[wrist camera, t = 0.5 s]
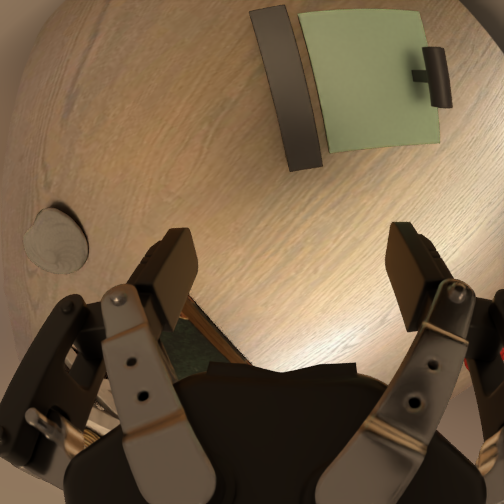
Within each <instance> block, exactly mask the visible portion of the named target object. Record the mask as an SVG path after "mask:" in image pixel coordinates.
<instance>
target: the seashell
mask: <svg viewBox="0 0 504 504" xmlns="http://www.w3.org/2000/svg"><path fill="white" fill-rule="evenodd" d="M23 245H24V250H25V252H26V254H27V256H28V258H29V259H30V260H31V261H32V262H33V263H34V264H35V265H36V266H38V267H40V268H41V269H43V270H45V271H48V272H51V273H54V274H70V273H73V272H75V271H77V270H79V269H80V268H81V267H82V266H83V264H84V263H85V261H86V259H87V255H88V244H87V241H86V238H85V235H84V233H83V232H82V230H81V229H80V227H79V226H78V225H77V224H76V223H75V221H74V220H73V219H72V218H71V217H70V216H68V215H67V214H65V213H63V212H61V211H60V210H58V209H56V208H46V209H42V210H41V211H40V212H39V213H38V214H37V216H36V218H35V221H34V224H33V226H32V227H30V229H28V231H27V232H26V233H25V234H24V237H23Z"/></svg>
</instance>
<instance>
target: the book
mask: <svg viewBox="0 0 504 504" xmlns="http://www.w3.org/2000/svg"><path fill="white" fill-rule="evenodd" d="M160 339H161V341H162V343H163V346H164V348H165V350H166V353H167V355H168V357H169V359H170V362H171V364H172V366H173V368H174V370H175V372H176V375H177V377H178V378H179V380H181V379H183V378H186V377H188V376H191V375H194V374H197V373H201V372H207V369H208V365H209V361H212V362H226V363H244V364H248V365H251V364H250V363H249V362H248V361H247V360H246V359H245V358H244V357H243V356H242V355H241V353H240V352H239V351H238V350H237V349H236V348H235V347H234V346H233V345H232V344H231V343H230V342H229V341H228V339H227V338H226V337H225V336H224V335H223V334H222V333H221V332H220V331H219V330H218V328H217V327H216V326H215V325H214V324H213V323H212V322H211V321H210V320H209V318H208V317H207V316H206V315H205V314H204V313H203V312H202V310H201V309H200V308H199V307H198V306H197V305H196V304H195V302H194V301H193V300H192V299H191V298H190V297H189V295H188V297H187V299H186V302H185V304H184V306H183V309H182V311H181V314H180V316H179V319H178V321H177V324H176V326H175V329H174V331H173V332H161V335H160ZM251 366H252V365H251Z"/></svg>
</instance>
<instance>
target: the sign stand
mask: <svg viewBox="0 0 504 504" xmlns="http://www.w3.org/2000/svg"><path fill="white" fill-rule="evenodd" d="M249 14H250V18H251V21H252V24H253V28H254V31H255V34H256V38H257V41H258V45H259V48H260V52H261V55H262V59H263V63H264V66H265V70H266V74H267V78H268V82H269V85H270V89H271V93H272V97H273V101H274V105H275V109H276V114H277V118H278V122H279V126H280V130H281V135H282V139H283V144H284V148H285V153H286V157H287V162H288V167H289V171H290V172H292V171H298V170H304V169H311V168H317V167H323V164H322V158H321V152H320V147H319V141H318V136H317V130H316V125H315V120H314V115H313V111H312V106H311V101H310V97H309V92H308V88H307V83H306V79H305V75H304V71H303V67H302V63H301V59H300V55H299V51H298V48H297V44H296V40H295V37H294V33H293V30H292V26H291V23H290V20H289V16H288V13H287V10H286V7H285V5H279V6H273V7H268V8H263V9H258V10H253V11H249Z"/></svg>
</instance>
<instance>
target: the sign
mask: <svg viewBox="0 0 504 504" xmlns="http://www.w3.org/2000/svg"><path fill="white" fill-rule="evenodd" d="M298 18H299V22H300V25H301V28H302V32H303V35H304V39H305V43H306V46H307V50H308V54H309V58H310V62H311V66H312V70H313V74H314V78H315V83H316V87H317V92H318V96H319V101H320V106H321V111H322V116H323V121H324V126H325V131H326V137H327V143H328V149H329V152H330V153H337V152H344V151H352V150H361V149H370V148H380V147H391V146H403V145H418V144H436V143H440V132H439V118H438V108H453V105H452V96H451V87H450V80H449V73H448V67H447V61H446V56H445V51H444V48H441V47H428V45H427V40H426V36H425V32H424V28H423V24H422V20H421V17H420V13H419V11H409V10H395V9H340V10H326V11H315V12H306V13H299V14H298Z"/></svg>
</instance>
